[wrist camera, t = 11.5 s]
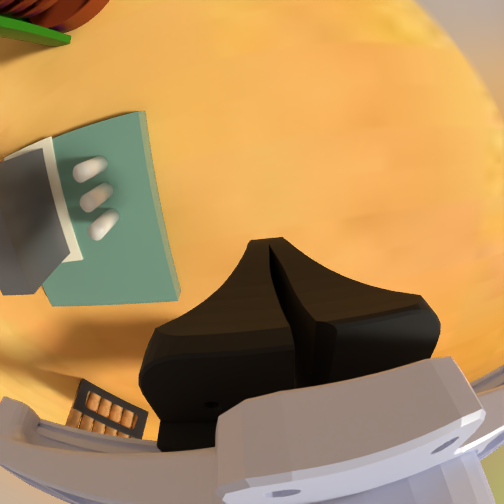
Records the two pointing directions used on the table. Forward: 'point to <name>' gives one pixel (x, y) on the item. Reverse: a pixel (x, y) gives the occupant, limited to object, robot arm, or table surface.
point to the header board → (108, 216)
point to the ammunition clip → (105, 413)
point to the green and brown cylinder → (45, 19)
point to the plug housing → (28, 225)
